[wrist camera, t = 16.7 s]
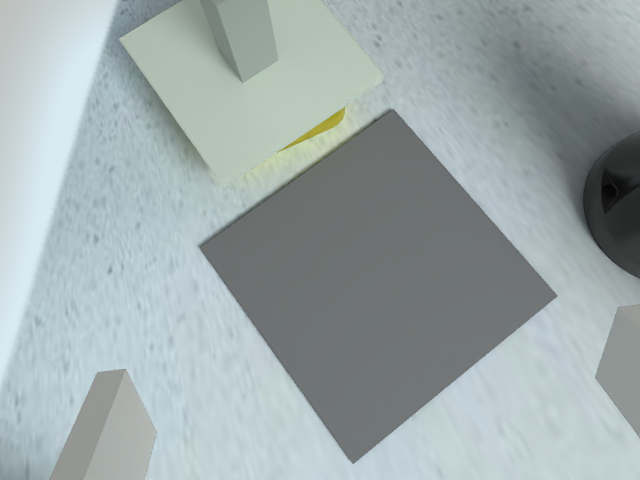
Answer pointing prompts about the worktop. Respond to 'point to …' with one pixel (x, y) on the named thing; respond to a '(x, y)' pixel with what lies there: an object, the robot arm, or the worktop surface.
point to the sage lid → (250, 74)
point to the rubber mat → (376, 281)
